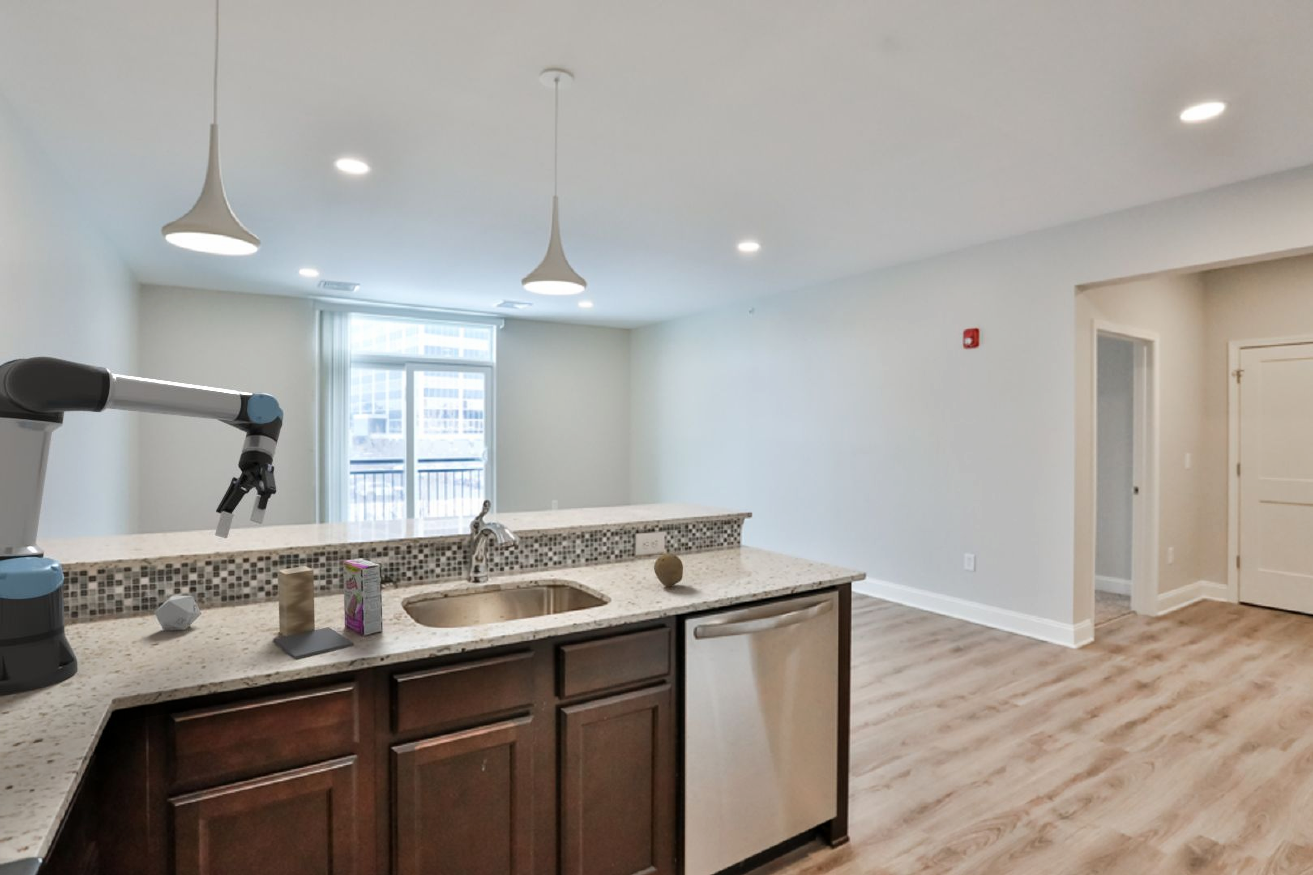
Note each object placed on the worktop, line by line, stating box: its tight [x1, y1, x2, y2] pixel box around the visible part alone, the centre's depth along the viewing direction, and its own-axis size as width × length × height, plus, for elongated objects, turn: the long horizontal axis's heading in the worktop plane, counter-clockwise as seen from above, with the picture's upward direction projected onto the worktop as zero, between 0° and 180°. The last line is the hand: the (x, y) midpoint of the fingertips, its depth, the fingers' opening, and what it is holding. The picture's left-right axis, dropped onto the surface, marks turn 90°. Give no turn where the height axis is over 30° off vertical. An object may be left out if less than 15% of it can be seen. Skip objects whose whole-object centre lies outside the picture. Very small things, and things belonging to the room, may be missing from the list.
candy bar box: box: [342, 557, 384, 637], centre depth 159 cm, size 11×5×16 cm, turn 47°
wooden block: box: [277, 565, 316, 637], centre depth 157 cm, size 6×6×15 cm
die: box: [153, 595, 202, 632], centre depth 161 cm, size 8×9×10 cm
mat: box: [272, 626, 355, 660], centre depth 149 cm, size 12×16×1 cm
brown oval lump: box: [653, 552, 684, 588], centre depth 198 cm, size 9×9×10 cm
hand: (238, 529), depth 164 cm, fingers open, 13 cm apart
